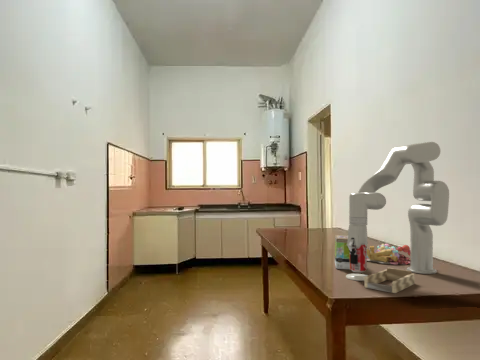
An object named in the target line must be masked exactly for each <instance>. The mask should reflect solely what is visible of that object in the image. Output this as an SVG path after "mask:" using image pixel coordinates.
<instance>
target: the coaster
mask: <svg viewBox="0 0 480 360" xmlns="http://www.w3.org/2000/svg"><path fill="white" fill-rule="evenodd" d="M366 276H369V275H368V274H364V273H362V274H361V273H348V274H346V275H345V278H346V279H347V280H351V281H357V282H365V277H366Z"/></svg>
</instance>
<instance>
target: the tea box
mask: <svg viewBox="0 0 480 360" xmlns="http://www.w3.org/2000/svg"><path fill="white" fill-rule="evenodd" d="M347 244H348V235H340V234H339V235H337V234H335V235H334V264H335V269H337V270H338V269H339V270H351V269H350V251H349V248H348V245H347ZM351 271H352V270H351Z"/></svg>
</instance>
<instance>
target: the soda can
mask: <svg viewBox="0 0 480 360" xmlns="http://www.w3.org/2000/svg"><path fill="white" fill-rule="evenodd" d="M353 247H356V246H353ZM367 249H368V247H367V248H366V246H365V244H361V246H360V248H358V251H357V255H358V264H351V263H350V269H351V272H353V273H364V272H366V271H367V266H368V263H367ZM354 250H355V249H354ZM350 269H349V270H350Z"/></svg>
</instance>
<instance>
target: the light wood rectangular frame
mask: <svg viewBox="0 0 480 360" xmlns="http://www.w3.org/2000/svg"><path fill="white" fill-rule="evenodd" d="M415 274H416V273H413V272H411V271H408V270H407V269H402V268H401V269H400V268H393V267H387V268H386V269H383V270H380V271H377V272H374V273H372V274H369V275H368V276H366V277H365V281H364V288H365V289H372V290H378V291H382V292H386V293H387V292H388V293H391V294H397V293H398V292H401V291H403V290H405V289H407V288H409V287H411V286H413V285H415V278H416V277H415ZM386 281H392V283H391V285H387V284H381V283H382V282H386Z"/></svg>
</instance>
